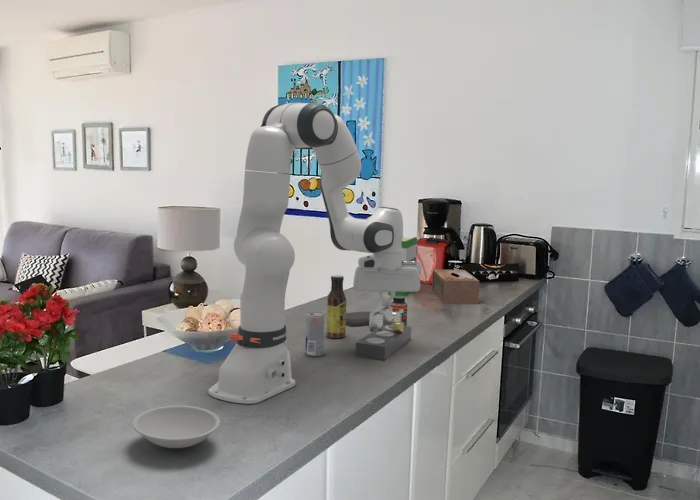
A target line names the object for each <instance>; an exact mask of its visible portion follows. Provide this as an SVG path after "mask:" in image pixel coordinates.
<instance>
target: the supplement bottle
mask: <svg viewBox="0 0 700 500" xmlns="http://www.w3.org/2000/svg"><path fill="white" fill-rule="evenodd" d="M405 301H406V296H405V297H404V296H394V298H393V299H392V301H391V306H389V307H392V310H394V311H395V310H397V311H400V312H401V316H400V322H403V323H404V326H407V325H408V303H407V302H405Z"/></svg>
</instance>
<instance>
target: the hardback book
mask: <svg viewBox="0 0 700 500" xmlns="http://www.w3.org/2000/svg"><path fill="white" fill-rule="evenodd" d="M401 246H402V261H417V250H418V249H417V247H418V237H417V236H414V237H411V238H409V237H403V239H402V243H401ZM411 293H412V292H395V296H404V297H405V298H406V297H407V296H408V295H410V294H411ZM387 294H388V296H389V297H390V296H391V294H390V292H388V293H387Z"/></svg>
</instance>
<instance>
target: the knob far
mask: <svg viewBox="0 0 700 500" xmlns="http://www.w3.org/2000/svg"><path fill="white" fill-rule="evenodd" d="M400 316H401V312H400V311H397V310H395V311H394V310H392V325H388V328H390V329H394V322H400Z"/></svg>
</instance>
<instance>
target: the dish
mask: <svg viewBox="0 0 700 500" xmlns="http://www.w3.org/2000/svg"><path fill="white" fill-rule="evenodd" d="M220 425H221V420H220V417H219V416H218V415H217V414H216V413H214V412H213V411H210V410H209V409H206V408H203V407H199V406H193V405H179V404H178V405H165V406H159V407H154V408H150V409H148V410H145V411H142V412H140V413H139V414H137V415H136V416H135V417H134V418H133V420H132V428H133V430H135V432H136V433H138V434H140V435H141V436H143V437H144V439H146V440H147V441H149V443H152V444H153V445H154V444H155V445H157V446H158V447H159V446H160V447H162V448H167V449H183V448H184V449H185V448H189V447H192V446H195V445H197V444H199V443H201V442H203V441H204V440H205V439H207V438H208V437H209V436H210V435H211V434H212V433H215V432H216V431H217V430H218V429H219V427H220Z"/></svg>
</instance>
